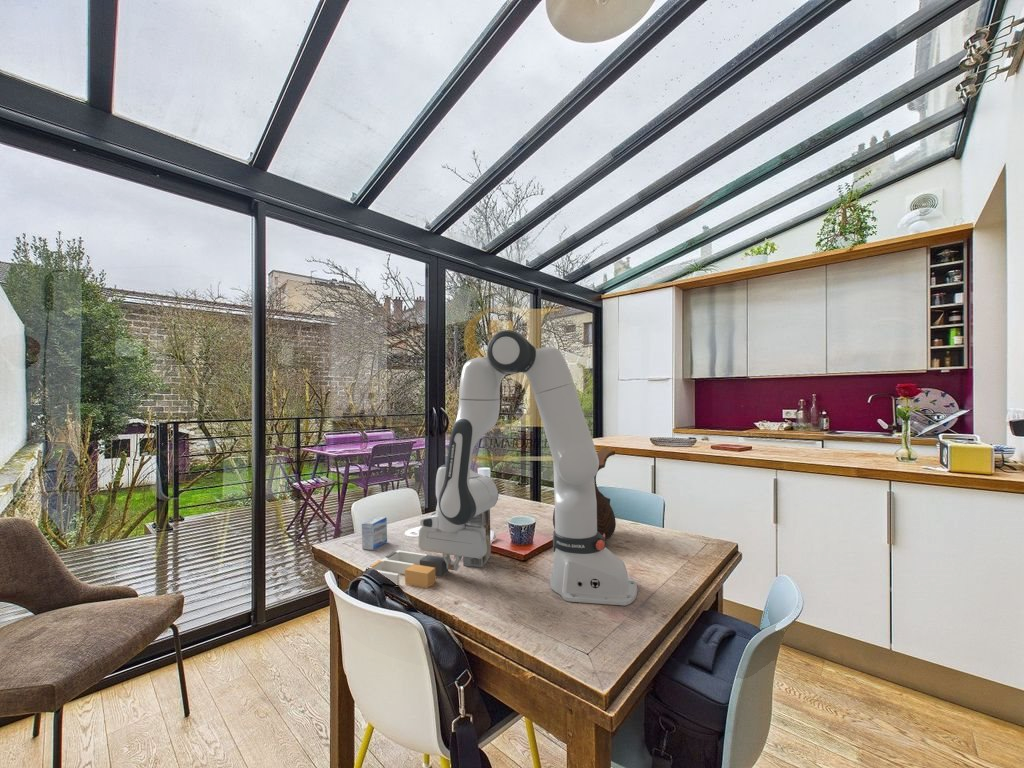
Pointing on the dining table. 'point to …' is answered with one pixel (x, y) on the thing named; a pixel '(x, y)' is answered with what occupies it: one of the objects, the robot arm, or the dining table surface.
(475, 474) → the robot arm
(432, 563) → the slate gray rubber brick
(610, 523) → the jug
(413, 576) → the tan wooden block
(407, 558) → the rack
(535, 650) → the dining table surface
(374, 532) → the medicine box
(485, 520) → the coffee box
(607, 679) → the dining table surface
